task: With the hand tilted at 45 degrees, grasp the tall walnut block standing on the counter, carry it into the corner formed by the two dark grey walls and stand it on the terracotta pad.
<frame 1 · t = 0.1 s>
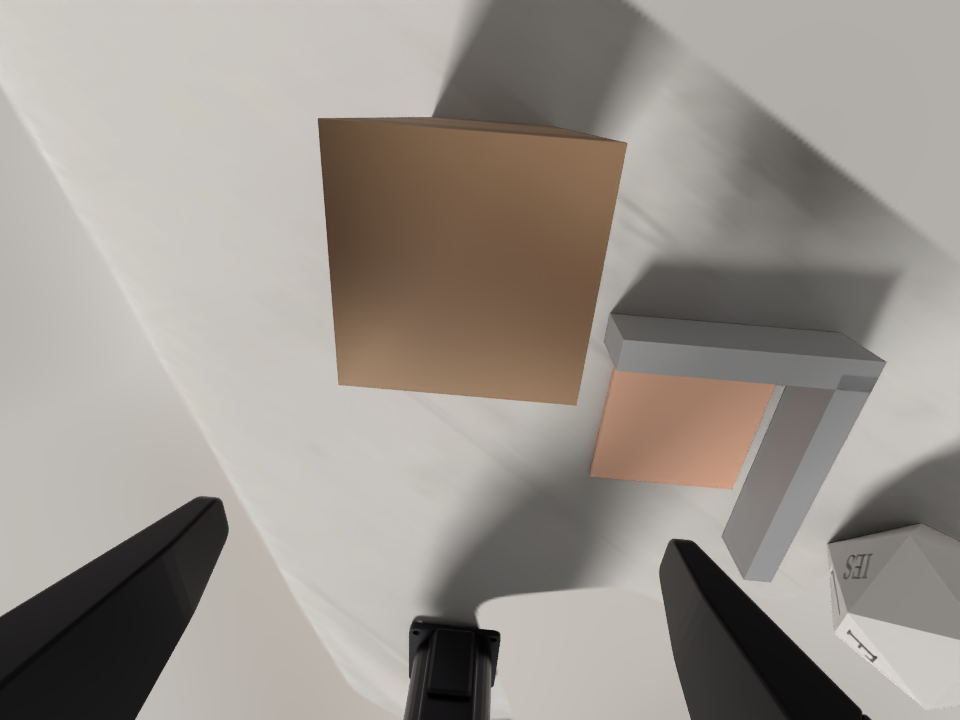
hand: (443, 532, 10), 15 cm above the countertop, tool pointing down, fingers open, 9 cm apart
corner bracket: (678, 421, 25), on the countertop
walnut block: (488, 187, 20), on the countertop
die: (872, 547, 29), on the countertop
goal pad: (678, 421, 25), on the countertop
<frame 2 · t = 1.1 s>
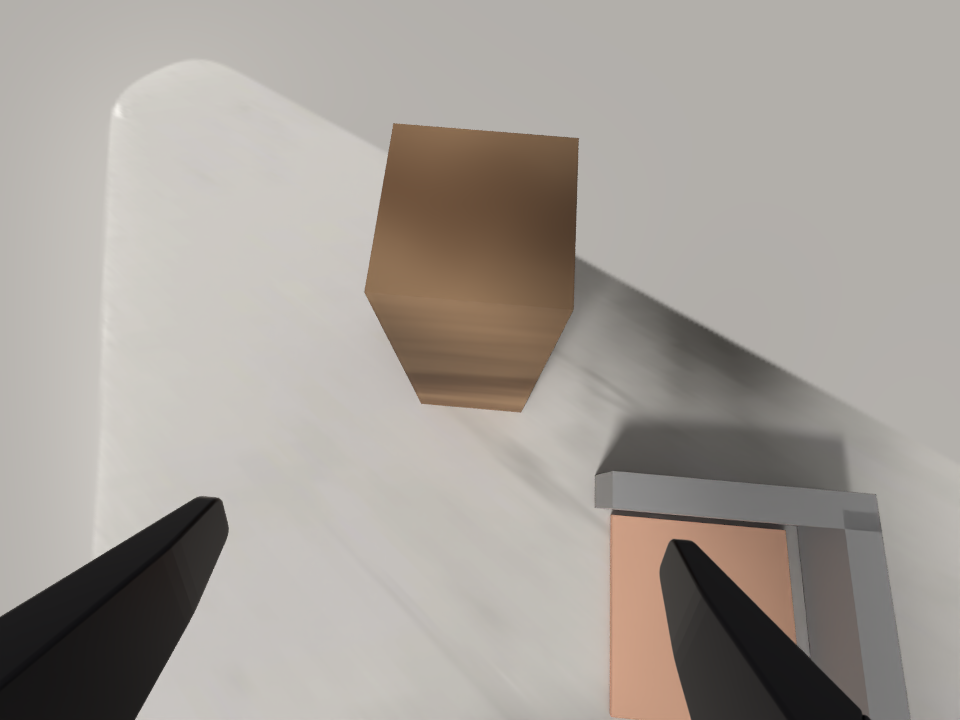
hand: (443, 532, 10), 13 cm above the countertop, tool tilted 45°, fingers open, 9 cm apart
corner bracket: (700, 617, 21), on the countertop
walnut block: (475, 360, 24), on the countertop
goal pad: (700, 617, 21), on the countertop
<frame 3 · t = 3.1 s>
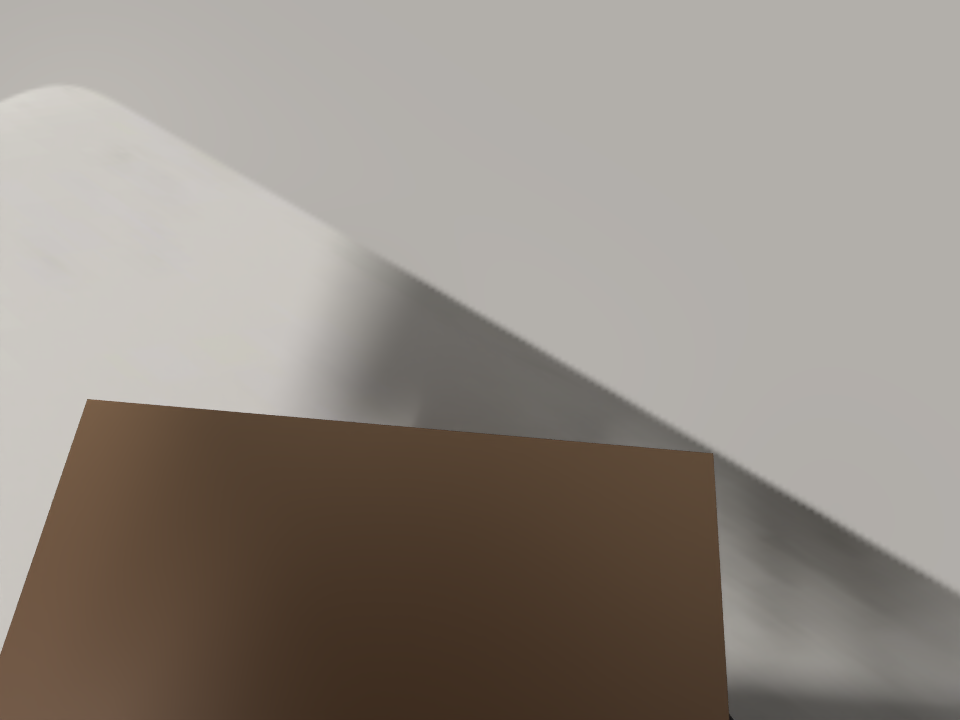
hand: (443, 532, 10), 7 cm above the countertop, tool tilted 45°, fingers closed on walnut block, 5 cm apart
walnut block: (450, 568, 15), on the countertop, touching gripper
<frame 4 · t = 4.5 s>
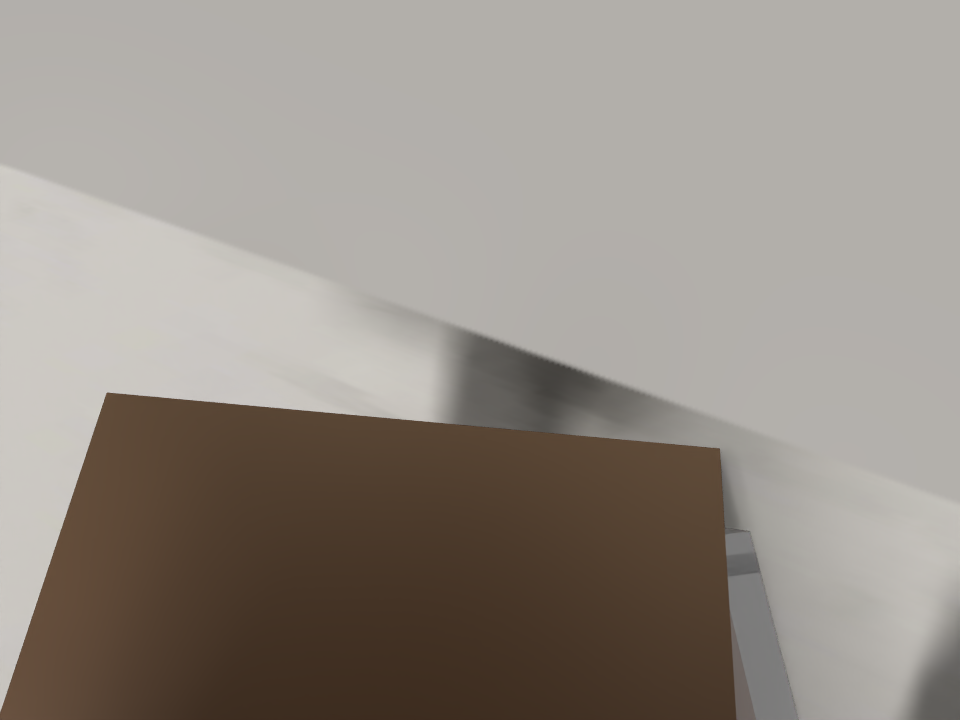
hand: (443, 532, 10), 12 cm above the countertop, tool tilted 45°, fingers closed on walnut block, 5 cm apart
corner bracket: (600, 691, 20), on the countertop
walnut block: (449, 565, 16), point 6 cm above the countertop, touching gripper
when the fingers open (7 cm above the countertop, at t = 6.3 s): walnut block stays where it is, resting on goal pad.
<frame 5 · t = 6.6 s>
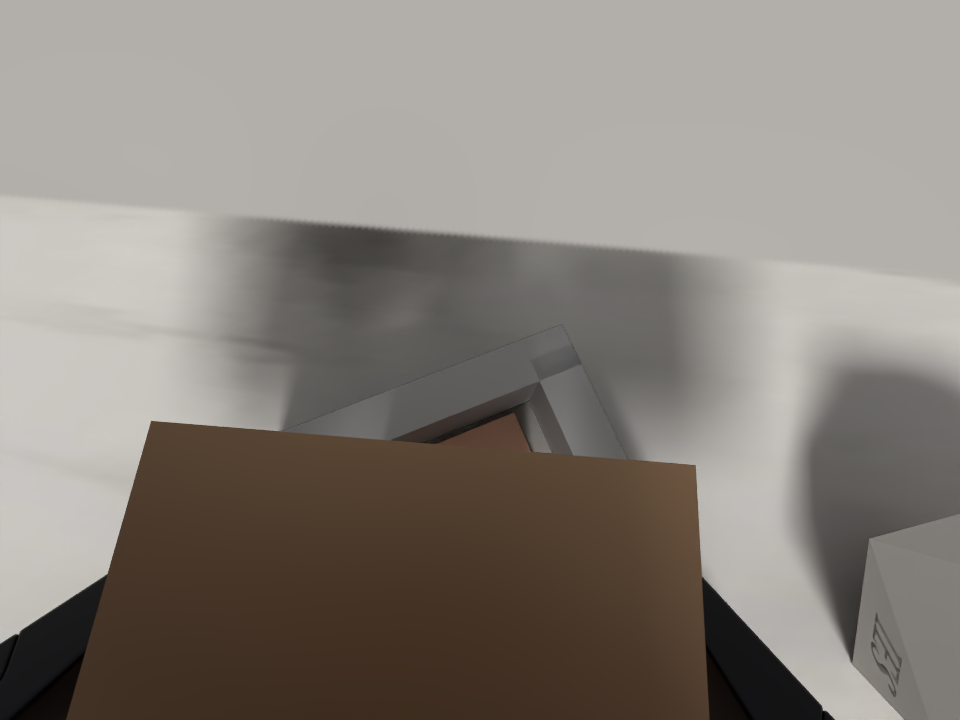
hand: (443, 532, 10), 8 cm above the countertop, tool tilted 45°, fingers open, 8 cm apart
corner bracket: (452, 563, 16), on the countertop
walnut block: (453, 565, 16), resting on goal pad
die: (921, 630, 16), on the countertop
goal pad: (452, 563, 16), on the countertop
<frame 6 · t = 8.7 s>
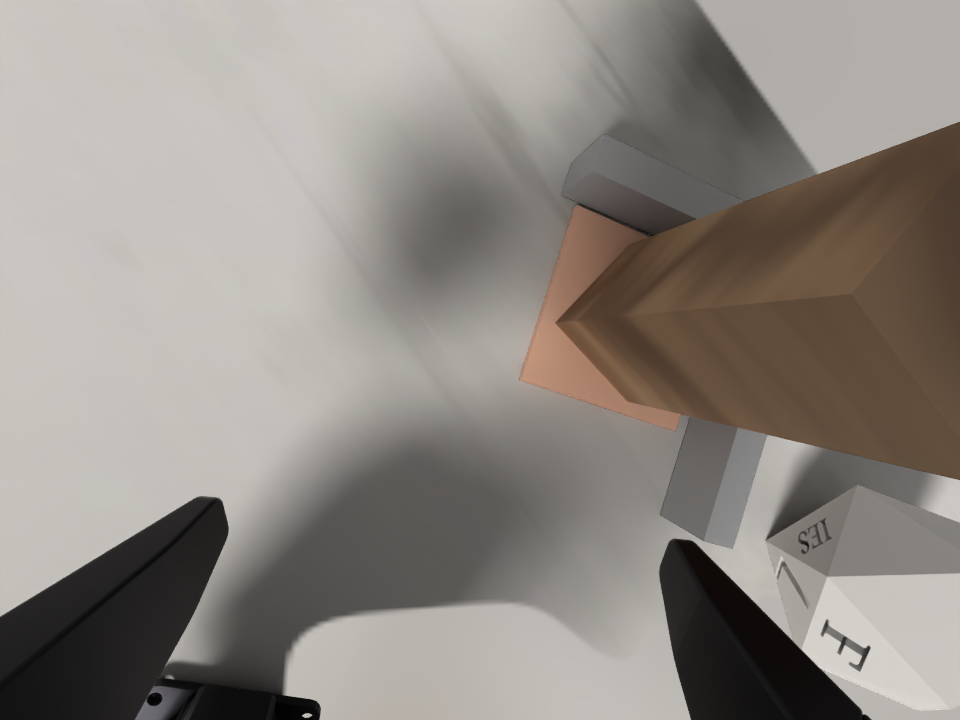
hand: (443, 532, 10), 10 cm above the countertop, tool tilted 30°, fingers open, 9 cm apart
corner bracket: (624, 322, 22), on the countertop
walnut block: (628, 323, 21), resting on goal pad
die: (805, 554, 25), on the countertop
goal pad: (624, 322, 22), on the countertop
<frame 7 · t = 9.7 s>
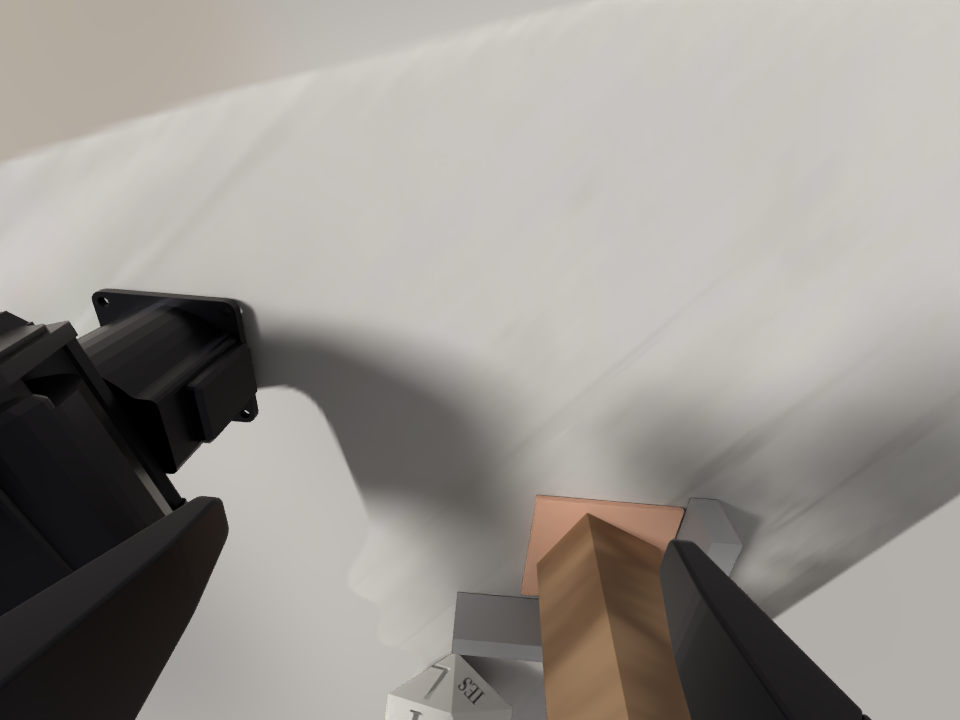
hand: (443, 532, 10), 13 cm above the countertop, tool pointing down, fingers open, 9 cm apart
corner bracket: (596, 551, 28), on the countertop
walnut block: (596, 556, 28), resting on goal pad
die: (452, 671, 35), on the countertop
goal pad: (596, 551, 28), on the countertop
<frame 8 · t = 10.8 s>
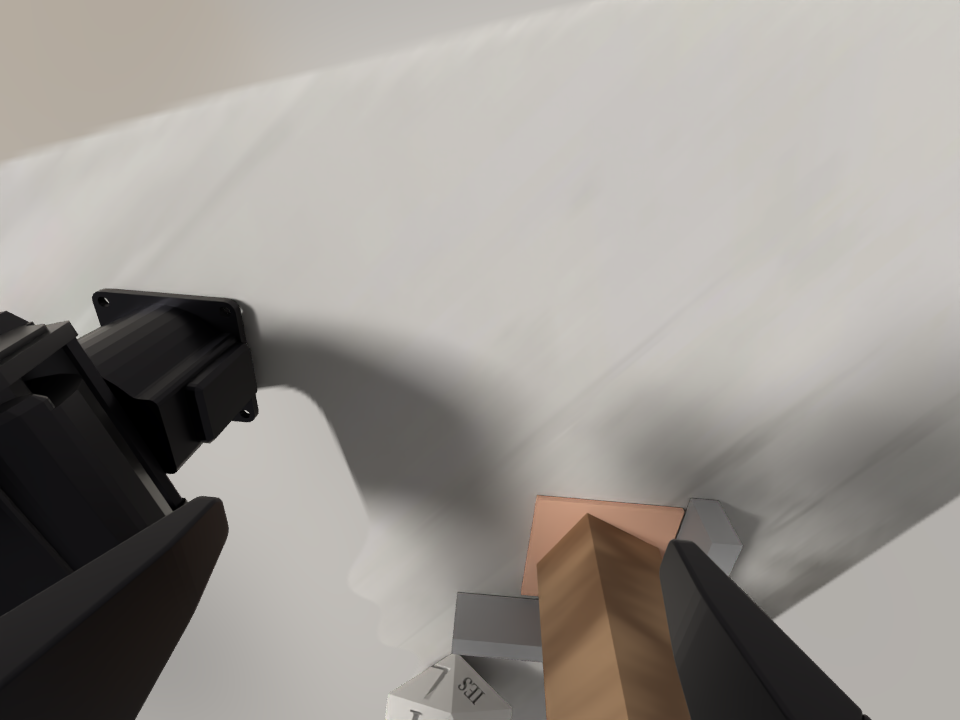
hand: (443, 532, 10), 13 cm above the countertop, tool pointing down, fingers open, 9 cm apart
corner bracket: (596, 552, 28), on the countertop
walnut block: (596, 556, 28), resting on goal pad
die: (451, 671, 35), on the countertop
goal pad: (596, 552, 28), on the countertop
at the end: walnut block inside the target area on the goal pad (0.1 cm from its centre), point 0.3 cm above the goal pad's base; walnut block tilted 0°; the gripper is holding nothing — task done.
